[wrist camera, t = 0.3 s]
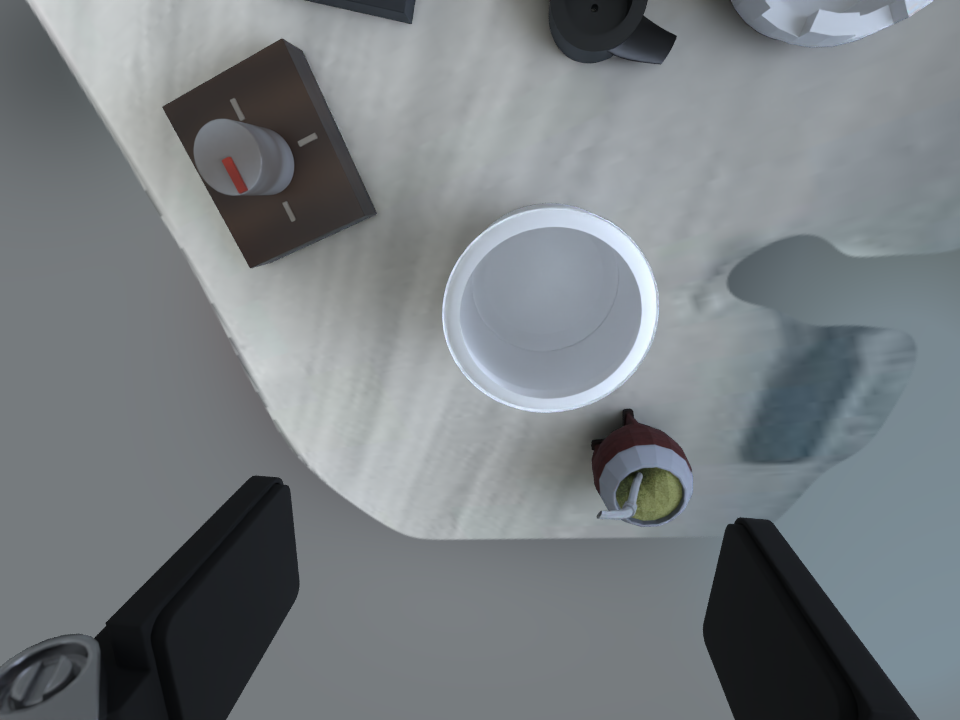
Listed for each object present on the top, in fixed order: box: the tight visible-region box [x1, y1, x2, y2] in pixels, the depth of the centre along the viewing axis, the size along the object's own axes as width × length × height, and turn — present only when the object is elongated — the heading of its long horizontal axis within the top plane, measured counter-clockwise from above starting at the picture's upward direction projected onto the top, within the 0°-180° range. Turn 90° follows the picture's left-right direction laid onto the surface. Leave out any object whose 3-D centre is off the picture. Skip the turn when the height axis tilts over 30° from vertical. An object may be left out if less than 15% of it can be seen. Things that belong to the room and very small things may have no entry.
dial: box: [194, 119, 294, 196], centre depth 32 cm, size 4×4×5 cm
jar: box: [442, 203, 659, 413], centre depth 31 cm, size 11×10×15 cm
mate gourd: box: [591, 409, 693, 527], centre depth 35 cm, size 8×8×15 cm
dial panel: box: [162, 39, 377, 268], centre depth 36 cm, size 12×10×3 cm
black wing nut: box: [549, 0, 677, 64], centre depth 31 cm, size 8×10×3 cm
